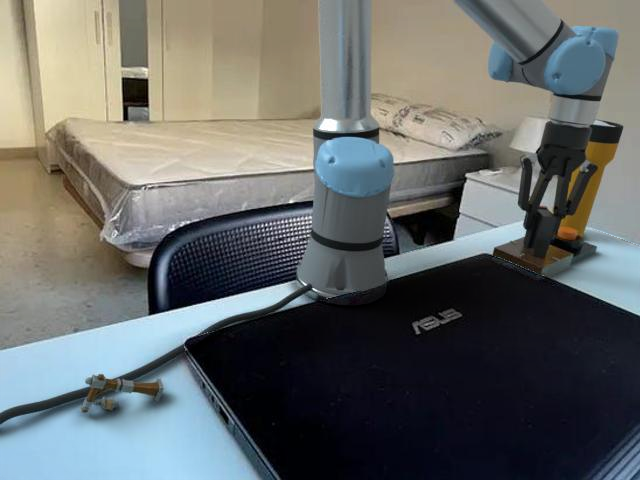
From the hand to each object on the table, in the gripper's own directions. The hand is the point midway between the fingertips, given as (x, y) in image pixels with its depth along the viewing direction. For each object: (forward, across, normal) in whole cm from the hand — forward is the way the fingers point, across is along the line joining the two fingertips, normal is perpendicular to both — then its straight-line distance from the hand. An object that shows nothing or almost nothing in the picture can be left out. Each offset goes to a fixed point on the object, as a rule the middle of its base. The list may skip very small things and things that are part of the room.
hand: (535, 245), depth 96 cm
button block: (+4, -9, -9) cm, 14 cm away
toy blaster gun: (+4, +58, +51) cm, 77 cm away
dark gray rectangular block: (+1, 0, 0) cm, 1 cm away
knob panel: (+4, 0, 0) cm, 4 cm away
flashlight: (+4, -14, -20) cm, 25 cm away
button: (+1, -9, -9) cm, 13 cm away
